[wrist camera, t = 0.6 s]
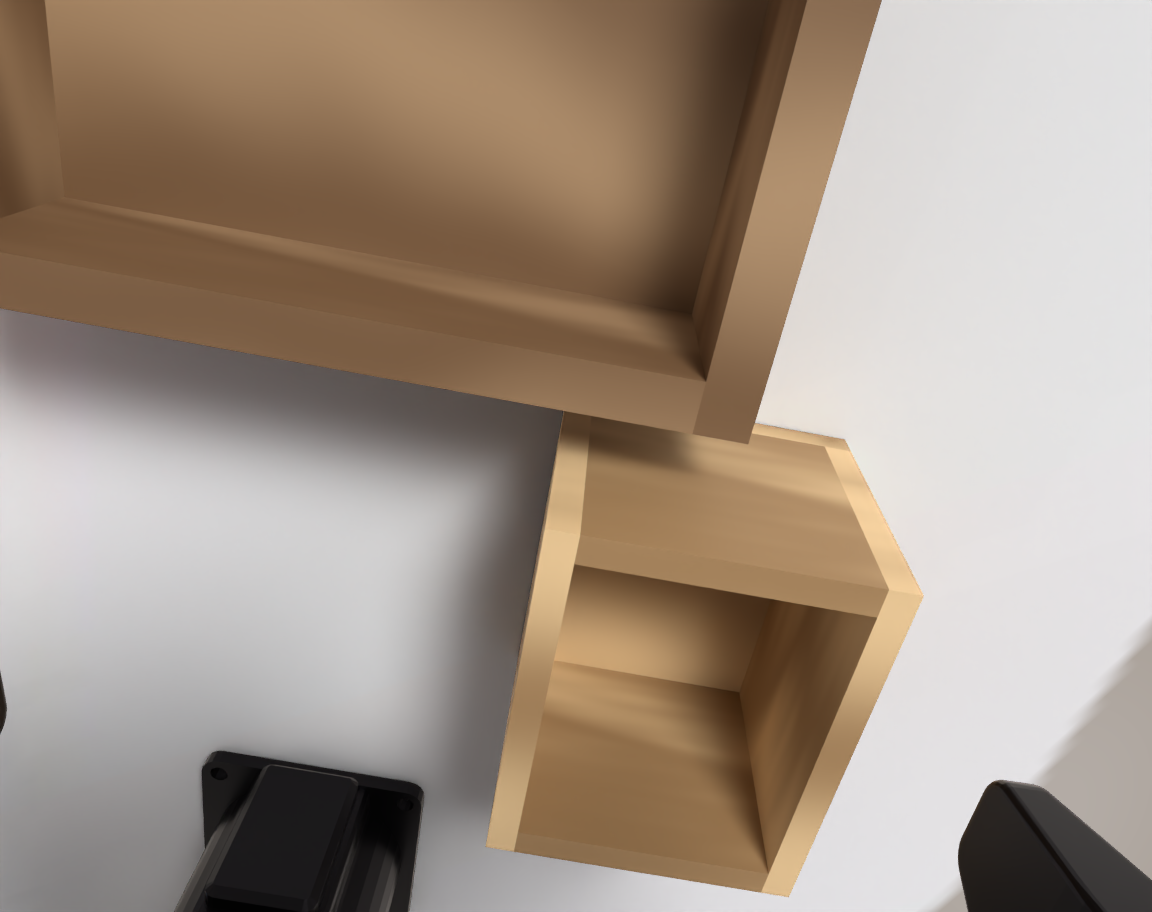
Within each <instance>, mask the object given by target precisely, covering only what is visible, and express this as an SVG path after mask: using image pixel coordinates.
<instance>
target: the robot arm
mask: <svg viewBox="0 0 1152 912" xmlns="http://www.w3.org/2000/svg"><path fill="white" fill-rule="evenodd" d="M6 712H7V704H6V699H5V693H4V688H3V683H2V678H1V672H0V733H1V731H2V729H3V726H4V723H5V719H6ZM202 788H203V813H204V838H205V851H204V853H203V855H202V857H201V859H200V861H199V863H198V865H197V867H196V869H195V871H194V873H193V874H192V876H191V878H190V880H189V882H188V884H187V886H186V888H185V890H184V892H183V894H182V896H181V898H180V900H179V902H178V904H177V906H176V908H175V910H174V912H409V910H410V903H411V895H412V888H413V880H414V872H415V865H416V857H417V850H418V842H419V834H420V827H421V819H422V812H423V804H424V792H423V790H422V789H421V788H420V787H419V786H417V785H416V784H413V783H410V782H405V781H399V780H393V779H387V778H381V777H375V776H369V775H363V774H357V773H351V772H345V771H339V770H333V769H327V768H321V767H315V766H309V765H303V764H297V763H291V762H285V761H279V760H273V759H267V758H261V757H255V756H249V755H244V754H238V753H232V752H226V751H217V752H213V753H212V754H211V755H210V756H209V757H208V759H207V760H206V762H205V764H204V766H203V768H202ZM406 799H407V800H406ZM958 865H959V871H960V876H961V881H962V886H963V890H964V895H965V900H966V904H967V909H968V912H1152V880H1151V879H1150V878H1148V877H1147V876H1146V875H1145V874H1144V873H1143V872H1142V871H1140V870H1139V869H1138V868H1137V867H1136V866H1135V865H1133V864H1132V863H1131V862H1130V861H1129V860H1127V859H1126V858H1125V857H1124V856H1123V855H1122V854H1121V853H1119V852H1118V851H1117V850H1116V849H1115V848H1114V847H1112V846H1111V845H1110V844H1109V843H1108V842H1106V841H1105V840H1104V839H1103V838H1102V837H1101V836H1100V835H1098V834H1097V833H1096V832H1095V831H1094V830H1092V829H1091V828H1090V827H1089V826H1088V825H1087V824H1085V823H1084V822H1083V821H1082V820H1081V819H1080V818H1078V817H1077V816H1076V815H1075V814H1074V813H1073V812H1071V811H1070V810H1069V809H1068V808H1067V807H1066V806H1064V805H1063V804H1062V803H1061V802H1060V801H1059V800H1057V799H1056V798H1055V797H1054V796H1052V794H1050V793H1049V792H1048V791H1047V790H1045V789H1044V788H1042V787H1040V786H1037V785H1034V784H1028V783H1021V782H1014V781H1007V780H996V781H994V782H992V783H991V784H989V785H988V786H987V788H986V789H985V791H984V793H983V795H982V797H981V799H980V801H979V803H978V805H977V807H976V809H975V811H974V813H973V815H972V817H971V819H970V821H969V824H968V826H967V828H966V830H965V832H964V834H963V836H962V838H961V841H960V845H959V850H958Z"/></svg>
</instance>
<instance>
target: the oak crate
mask: <svg viewBox="0 0 1152 912" xmlns="http://www.w3.org/2000/svg"><path fill="white" fill-rule="evenodd" d="M923 596H924V595H923V593H922V592H921V590H920V588H919V586H918V584H917V582H916V580H915V578H914V576H913V574H912V572H911V570H910V568H909V566H908V564H907V562H906V560H905V558H904V556H903V554H902V552H901V550H900V548H899V546H898V544H897V542H896V540H895V538H894V536H893V534H892V532H891V530H890V528H889V526H888V524H887V522H886V520H885V518H884V516H883V514H882V512H881V510H880V508H879V506H878V504H877V502H876V500H875V499H874V497H873V495H872V493H871V491H870V489H869V487H868V485H867V483H866V481H865V479H864V477H863V475H862V473H861V471H860V469H859V467H858V465H857V463H856V461H855V459H854V457H853V455H852V453H851V451H850V449H849V447H848V445H847V443H846V441H845V440H844V439H839V438H833V437H828V436H823V435H817V434H812V433H806V432H801V431H795V430H790V429H784V428H779V427H773V426H768V425H762V424H757V423H755V424H754V427H753V430H752V434H751V437H750V440H749V444H743V443H738V442H732V441H727V440H721V439H716V438H710V437H705V436H699V435H694V434H688V433H683V432H677V431H672V430H666V429H661V428H655V427H650V426H644V425H639V424H633V423H628V422H622V421H617V420H611V419H606V418H600V417H595V416H589V415H584V414H578V413H573V412H568V411H563V417H562V422H561V428H560V433H559V438H558V444H557V449H556V455H555V460H554V466H553V471H552V476H551V482H550V487H549V493H548V498H547V504H546V509H545V514H544V520H543V525H542V531H541V536H540V541H539V547H538V552H537V558H536V563H535V569H534V574H533V579H532V585H531V590H530V596H529V601H528V607H527V612H526V617H525V623H524V628H523V634H522V639H521V645H520V650H519V655H518V661H517V667H516V673H515V679H514V684H513V690H512V696H511V702H510V708H509V713H508V719H507V725H506V731H505V737H504V743H503V748H502V754H501V760H500V766H499V772H498V778H497V783H496V789H495V795H494V801H493V807H492V812H491V818H490V824H489V830H488V836H487V842H486V847H489V848H495V849H501V850H507V851H513V852H520V853H526V854H532V855H538V856H544V857H550V858H556V859H562V860H568V861H574V862H580V863H586V864H592V865H598V866H604V867H610V868H616V869H622V870H628V871H634V872H640V873H646V874H652V875H658V876H664V877H670V878H676V879H683V880H689V881H695V882H701V883H707V884H713V885H719V886H725V887H731V888H737V889H743V890H749V891H755V892H761V893H767V894H773V895H779V896H785V897H789V895H790V893H791V891H792V889H793V886H794V884H795V882H796V880H797V877H798V875H799V873H800V871H801V868H802V866H803V864H804V862H805V860H806V857H807V855H808V853H809V851H810V848H811V846H812V844H813V842H814V839H815V837H816V835H817V833H818V831H819V828H820V826H821V824H822V822H823V819H824V817H825V815H826V813H827V810H828V808H829V806H830V804H831V802H832V799H833V797H834V795H835V793H836V790H837V788H838V786H839V784H840V781H841V779H842V777H843V775H844V773H845V770H846V768H847V766H848V764H849V761H850V759H851V757H852V755H853V753H854V750H855V748H856V746H857V744H858V741H859V739H860V737H861V735H862V732H863V730H864V728H865V726H866V724H867V721H868V719H869V717H870V715H871V712H872V710H873V708H874V706H875V703H876V701H877V699H878V697H879V695H880V692H881V690H882V688H883V686H884V683H885V681H886V679H887V677H888V674H889V672H890V670H891V668H892V666H893V663H894V661H895V659H896V657H897V654H898V652H899V650H900V648H901V645H902V643H903V641H904V639H905V637H906V634H907V632H908V630H909V628H910V625H911V623H912V621H913V619H914V616H915V614H916V612H917V610H918V608H919V605H920V603H921V601H922V599H923Z"/></svg>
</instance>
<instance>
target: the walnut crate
mask: <svg viewBox="0 0 1152 912" xmlns="http://www.w3.org/2000/svg"><path fill="white" fill-rule="evenodd" d="M881 1H882V0H0V308H2V309H7V310H13V311H18V312H24V313H29V314H35V315H40V316H46V317H51V318H57V319H62V320H68V321H73V322H79V323H84V324H90V325H95V326H101V327H106V328H112V329H117V330H123V331H128V332H134V333H139V334H145V335H150V336H155V337H161V338H166V339H172V340H177V341H183V342H188V343H194V344H199V345H205V346H210V347H216V348H221V349H227V350H232V351H238V352H243V353H249V354H254V355H260V356H265V357H271V358H276V359H282V360H287V361H293V362H298V363H304V364H309V365H315V366H320V367H326V368H331V369H337V370H342V371H348V372H353V373H359V374H364V375H370V376H375V377H381V378H386V379H392V380H397V381H403V382H408V383H414V384H419V385H425V386H430V387H436V388H441V389H447V390H452V391H458V392H463V393H469V394H474V395H480V396H485V397H491V398H496V399H502V400H507V401H513V402H518V403H524V404H529V405H535V406H540V407H546V408H551V409H557V410H562V411H568V412H573V413H578V414H584V415H589V416H595V417H600V418H606V419H611V420H617V421H622V422H628V423H633V424H639V425H644V426H650V427H655V428H661V429H666V430H672V431H677V432H683V433H688V434H694V435H699V436H705V437H710V438H716V439H721V440H727V441H732V442H738V443H743V444H749V440H750V437H751V434H752V430H753V427H754V424H755V420H756V417H757V414H758V410H759V407H760V404H761V400H762V397H763V394H764V390H765V387H766V384H767V380H768V377H769V374H770V370H771V367H772V364H773V360H774V357H775V354H776V350H777V347H778V344H779V340H780V337H781V334H782V330H783V327H784V324H785V320H786V317H787V314H788V310H789V307H790V304H791V300H792V297H793V294H794V290H795V287H796V284H797V280H798V277H799V274H800V270H801V267H802V264H803V261H804V257H805V254H806V251H807V247H808V244H809V241H810V237H811V234H812V231H813V227H814V224H815V221H816V217H817V214H818V211H819V207H820V204H821V201H822V197H823V194H824V191H825V187H826V184H827V181H828V177H829V174H830V171H831V167H832V164H833V161H834V157H835V154H836V151H837V147H838V144H839V141H840V137H841V134H842V131H843V127H844V124H845V121H846V117H847V114H848V111H849V107H850V104H851V101H852V97H853V94H854V91H855V87H856V84H857V81H858V77H859V74H860V71H861V67H862V64H863V61H864V57H865V54H866V51H867V48H868V44H869V41H870V38H871V34H872V31H873V28H874V24H875V21H876V18H877V14H878V11H879V8H880V4H881Z"/></svg>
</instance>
